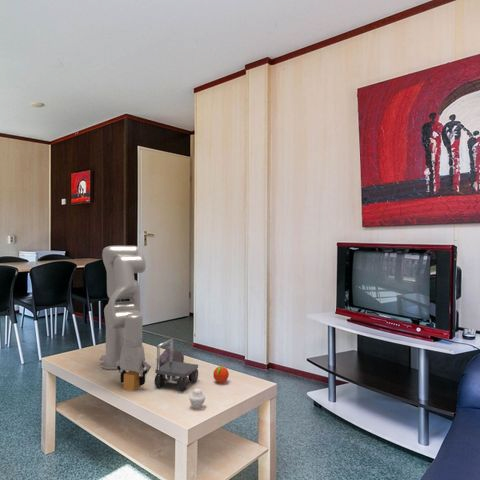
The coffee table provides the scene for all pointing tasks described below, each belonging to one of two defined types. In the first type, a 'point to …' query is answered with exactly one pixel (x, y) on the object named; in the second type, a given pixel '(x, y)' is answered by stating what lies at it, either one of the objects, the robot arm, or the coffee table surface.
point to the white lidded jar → (197, 398)
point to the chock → (131, 380)
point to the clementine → (220, 374)
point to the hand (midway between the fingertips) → (132, 383)
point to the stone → (176, 356)
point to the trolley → (174, 370)
